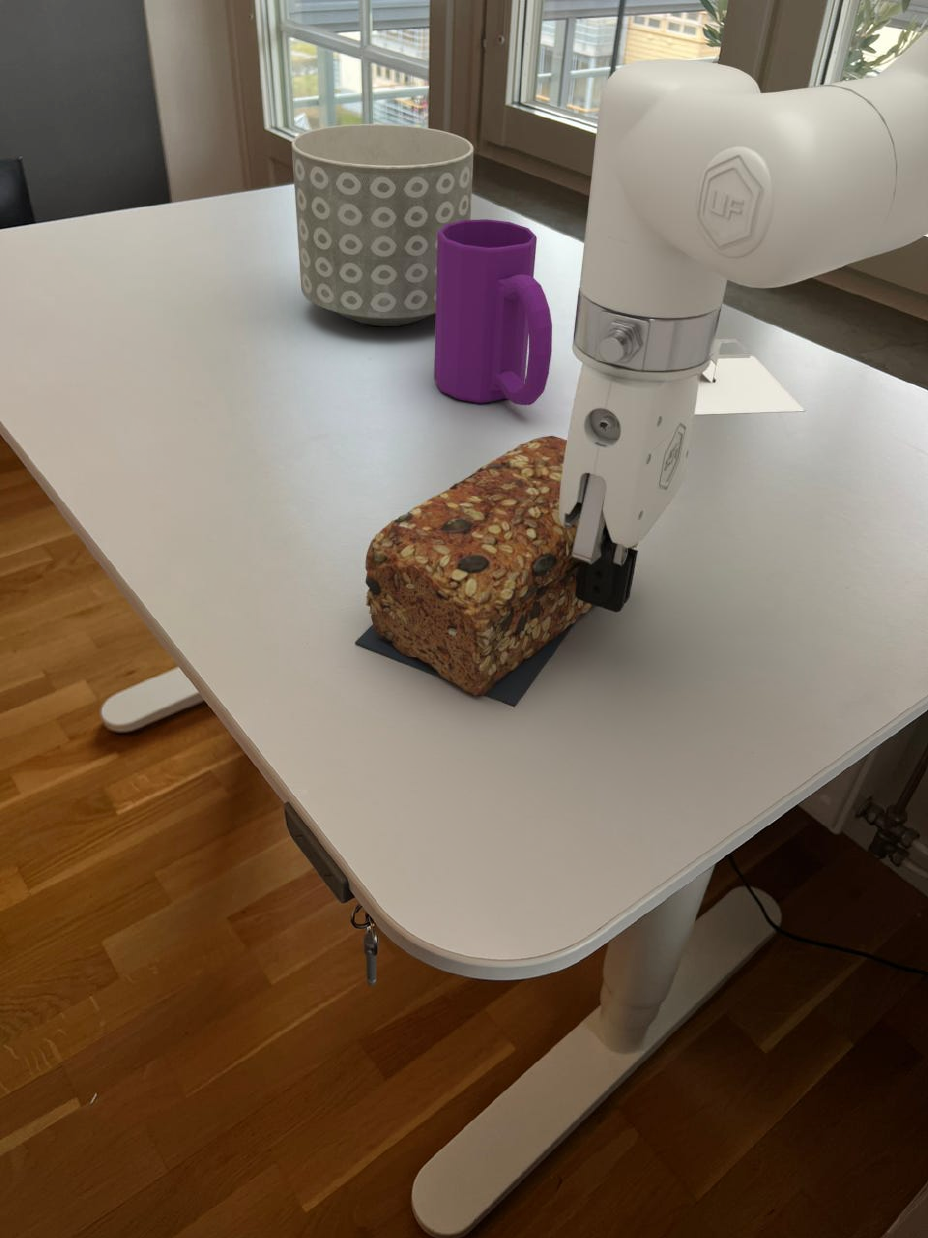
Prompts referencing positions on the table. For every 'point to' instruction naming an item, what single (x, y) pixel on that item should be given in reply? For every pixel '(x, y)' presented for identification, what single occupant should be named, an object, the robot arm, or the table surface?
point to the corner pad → (504, 689)
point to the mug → (490, 314)
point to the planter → (377, 216)
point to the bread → (479, 570)
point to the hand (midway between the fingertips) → (601, 599)
